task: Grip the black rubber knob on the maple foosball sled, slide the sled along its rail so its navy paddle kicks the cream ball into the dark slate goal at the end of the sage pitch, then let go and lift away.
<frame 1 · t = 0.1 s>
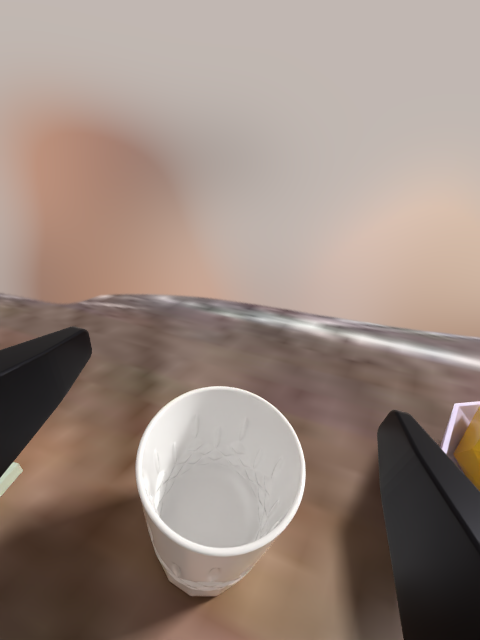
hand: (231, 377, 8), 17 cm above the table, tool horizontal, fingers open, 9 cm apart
white cup: (207, 530, 19), on the table
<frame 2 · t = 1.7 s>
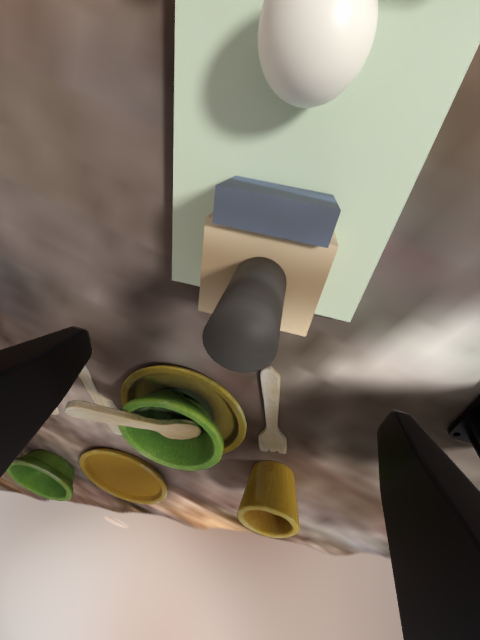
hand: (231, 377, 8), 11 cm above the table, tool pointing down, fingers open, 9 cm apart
tableware set: (130, 437, 34), on the table
sled: (260, 275, 12), point 5 cm above the table, slide at 0.0 cm
ball: (314, 36, 10), point 3 cm above the table, touching pitch
pitch: (306, 86, 13), on the table
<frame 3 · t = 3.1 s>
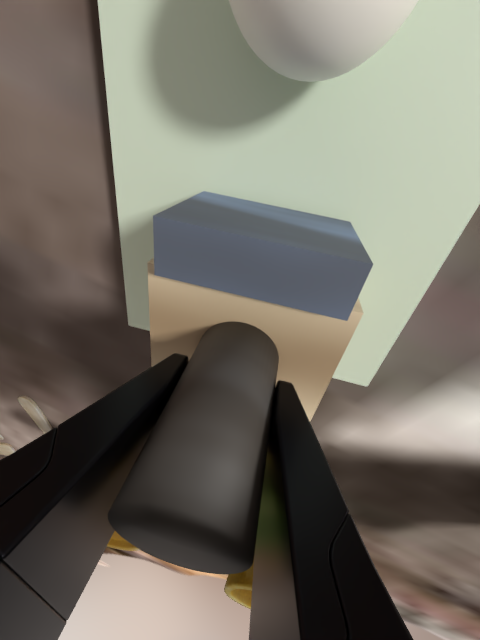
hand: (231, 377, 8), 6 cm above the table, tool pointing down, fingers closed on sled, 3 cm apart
tableware set: (102, 481, 29), on the table
sled: (235, 356, 8), point 5 cm above the table, slide at 0.0 cm, touching gripper
pitch: (310, 53, 8), on the table
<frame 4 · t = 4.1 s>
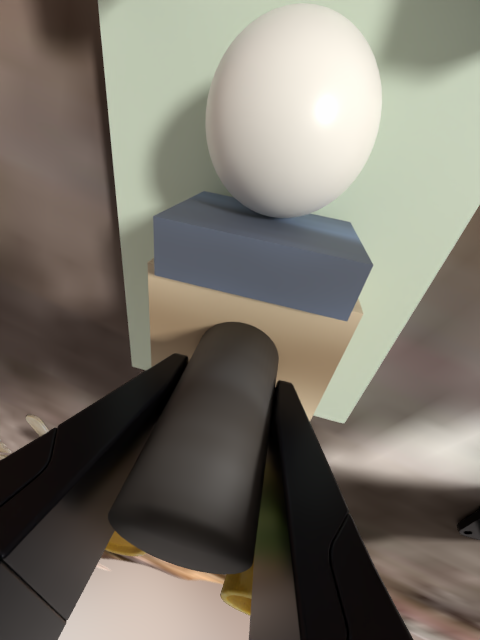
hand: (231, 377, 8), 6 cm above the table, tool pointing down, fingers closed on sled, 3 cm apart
tableware set: (105, 491, 31), on the table
sled: (235, 356, 8), point 5 cm above the table, slide at 2.9 cm, touching gripper
ball: (288, 129, 7), point 3 cm above the table, touching pitch
pitch: (286, 166, 10), on the table
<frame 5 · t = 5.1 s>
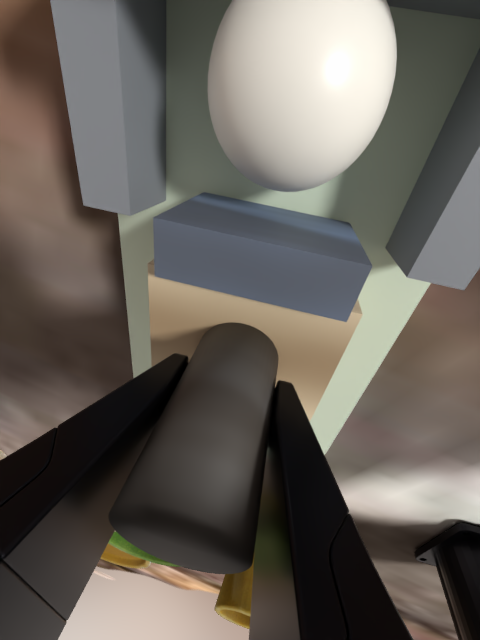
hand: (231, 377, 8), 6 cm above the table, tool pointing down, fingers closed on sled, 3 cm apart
tableware set: (111, 511, 34), on the table
sled: (235, 357, 8), point 5 cm above the table, slide at 8.6 cm, touching gripper
ball: (295, 95, 6), point 3 cm above the table, tilted 178°, touching pitch
pitch: (255, 304, 13), on the table
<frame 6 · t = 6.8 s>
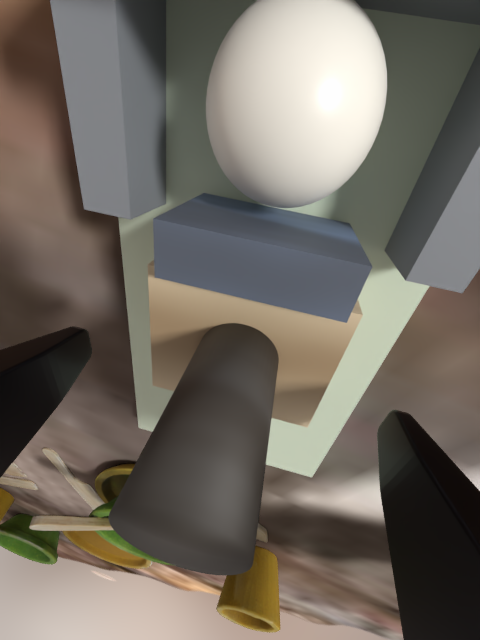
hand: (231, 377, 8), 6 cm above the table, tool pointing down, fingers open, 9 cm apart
tableware set: (112, 510, 33), on the table
sled: (235, 357, 8), point 5 cm above the table, slide at 8.7 cm
ball: (291, 116, 6), point 3 cm above the table, tilted 173°, touching pitch
pitch: (255, 306, 13), on the table
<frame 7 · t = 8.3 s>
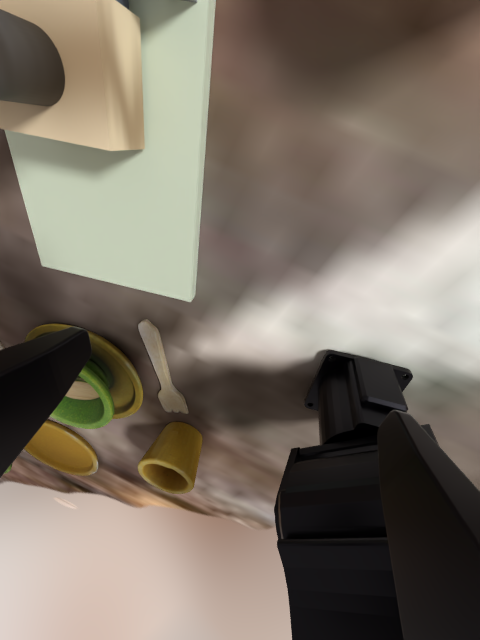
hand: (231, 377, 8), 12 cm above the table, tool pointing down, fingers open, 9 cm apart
tableware set: (55, 406, 35), on the table
sled: (9, 33, 10), point 5 cm above the table, slide at 8.7 cm
pitch: (104, 100, 15), on the table
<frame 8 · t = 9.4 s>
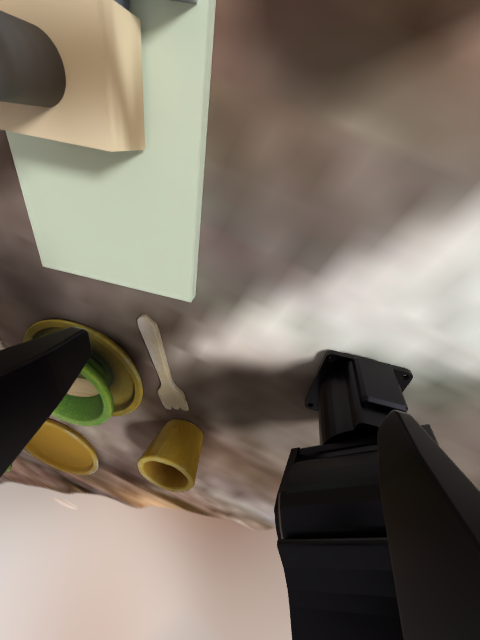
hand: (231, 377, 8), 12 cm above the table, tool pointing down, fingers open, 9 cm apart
tableware set: (55, 404, 35), on the table
sled: (10, 34, 10), point 5 cm above the table, slide at 8.7 cm
pitch: (104, 102, 15), on the table
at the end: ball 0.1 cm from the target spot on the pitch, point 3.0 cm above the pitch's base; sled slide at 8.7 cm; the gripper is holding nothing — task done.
